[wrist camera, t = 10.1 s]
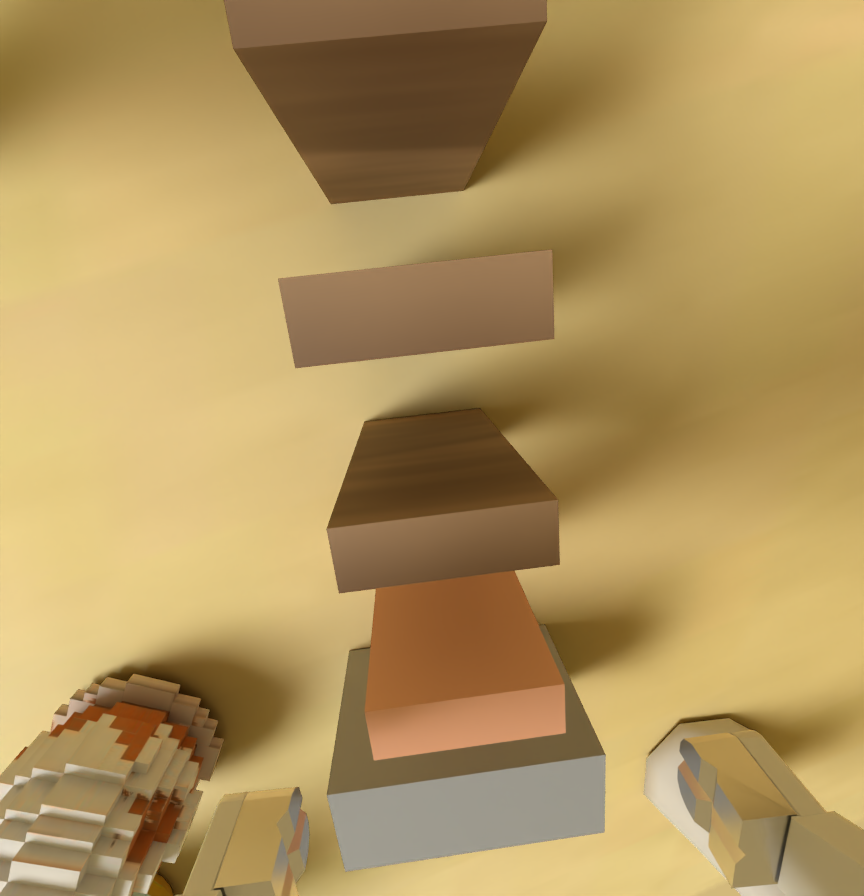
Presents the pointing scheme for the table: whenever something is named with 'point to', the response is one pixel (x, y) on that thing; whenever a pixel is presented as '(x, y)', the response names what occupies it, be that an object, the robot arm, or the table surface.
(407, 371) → the table surface
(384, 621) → the domino
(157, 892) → the bottle
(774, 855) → the robot arm
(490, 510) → the domino
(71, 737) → the decorative ornament
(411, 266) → the domino
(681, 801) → the flask
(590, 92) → the table surface
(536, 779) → the end block
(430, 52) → the domino
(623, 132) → the table surface
